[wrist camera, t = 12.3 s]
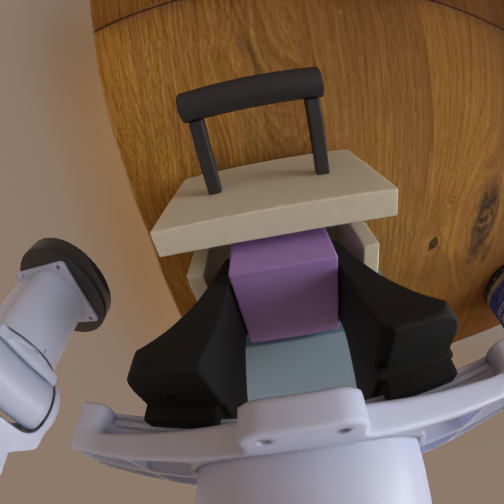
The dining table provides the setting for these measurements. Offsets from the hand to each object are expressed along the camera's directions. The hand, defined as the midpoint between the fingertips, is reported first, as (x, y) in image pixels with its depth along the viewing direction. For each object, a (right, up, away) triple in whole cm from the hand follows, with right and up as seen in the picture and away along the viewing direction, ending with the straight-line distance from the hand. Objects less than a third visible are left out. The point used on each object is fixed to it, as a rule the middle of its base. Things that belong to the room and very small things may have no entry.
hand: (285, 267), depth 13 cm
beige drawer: (0, +3, +5) cm, 6 cm away
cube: (0, +1, +1) cm, 1 cm away
